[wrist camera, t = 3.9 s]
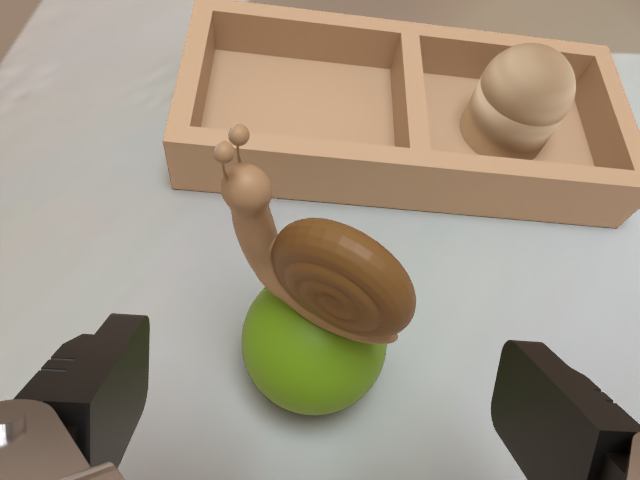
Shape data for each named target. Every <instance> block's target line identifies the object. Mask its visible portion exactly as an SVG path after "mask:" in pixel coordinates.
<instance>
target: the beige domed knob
mask: <svg viewBox="0 0 640 480" xmlns="http://www.w3.org/2000/svg"><path fill="white" fill-rule="evenodd" d="M575 93H576V79H575V74H574V71H573V69H572V66H571V65H570V63H569V61H568V60H567V59H566V57H565V56H564V55H563V54H561V53H560V52H559V51H557V50H556V49H554V48H552V47H550V46H547V45H544V44H540V43H522V44H518V45H515V46H512V47H510V48H507V49H506V50H504V51H502V52H501V53H499V54H498V55H497V56H496V57H495V58H493V59H492V60H491V62H490V63H489V64H488V65H487V67H486V68H485V70H484V72H483V73H482V75H481V77H480V79H479V81H478V84H477V86H476V88H475V90H474V92H473V94H472V96H471V98H470V100H469V102H468V104H467V106H466V108H465V110H464V112H463V114H462V116H461V119H460V130H461V133H462V136H463V138H464V140H465V141H466V143H467V144H468V145H469V146H470V147H471V149H473V150H474V151H475V152H476V153H477V154H479V155H484V156H494V157H504V158H514V159H524V160H533V159H534V158H535V157H536V156H537V155H538V153H539V152H540V151H541V149H542V148H543V147H544V145H545V144H546V142H547V141H548V140H549V138H550V137H551V136H552V134H553V133H554V132H555V130H556V129H557V127H558V126H559V125H560V123H561V122H562V121H563V119H564V118H565V116H566V115H567V113H568V112H569V110H570V108H571V106H572V104H573V101H574V98H575Z"/></svg>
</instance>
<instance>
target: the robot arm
mask: <svg viewBox="0 0 640 480" xmlns="http://www.w3.org/2000/svg"><path fill="white" fill-rule="evenodd" d="M149 333H150V325H149V318H148V316H145V315H130V314H115V313H112V314H111V315H110V316H109V317H108V318H107V319H106V321H105V322H104V323H103V324H102V326H101V327H100V328H99V329H98V331H97V332H96V333H95V334H94V335H92V334H82V335H80V336H78V337H76V338H74V339H72V340H70V341H68V342H66V343H64V344H62V346H61V347H60V348H59V349H58V350H57V351H56V352H55V353H54V354H53V356H52V357H51V360H48V361H47V362H46V363H45V364H44V366H43V367H42V368H41V371H38V372H37V373H36V374H35V376H34V377H33V378H32V379H31V380H30V381H29V382H28V383H27V384H26V386H25V387H24V388H23V389H22V390H21V391H20V392H19V393H18V394H17V396H16V397H15V398H14V399H13V400H5V401H0V480H125V479H124V478H123V476H122V475H121V473H120V472H119V470H118V466H119V464H120V462H121V460H122V457H123V455H124V453H125V451H126V448H127V446H128V444H129V442H130V439H131V437H132V435H133V433H134V430H135V428H136V426H137V424H138V421H139V419H140V417H141V415H142V412H143V410H144V406H145V402H146V397H147V391H148V373H149ZM491 416H492V422H493V425H494V428H495V430H496V432H497V433H498V435H499V436H500V438H501V439H502V441H503V443H504V444H505V446H506V447H507V449H508V450H509V452H510V453H511V455H512V456H513V458H514V459H515V461H516V462H517V464H518V466H519V467H520V469H521V470H522V472H523V473H524V475H525V476H526V478H527V479H528V480H640V425H639V424H638V423H637V422H636V421H635V420H634V419H633V418H632V417H631V416H630V415H628V414H627V413H626V412H625V411H624V410H623V409H622V408H621V407H620V406H618V405H617V404H616V403H613V400H612V399H611V398H610V397H608V396H607V395H606V394H605V393H604V392H601V389H600V388H598V387H597V386H596V385H595V384H594V383H593V382H592V381H591V380H590V379H589V378H587V377H586V376H585V375H583V374H581V373H579V372H577V371H576V370H574V369H572V368H570V367H569V366H568V365H567V364H565V363H564V362H563V361H562V360H561V359H560V358H559V357H558V356H557V355H556V354H555V353H554V352H552V351H551V350H550V349H549V348H548V347H547V346H546V345H545V344H544V343H542V342H531V341H516V340H509V341H507V342H506V343H505V344H504V346H503V349H502V352H501V357H500V362H499V367H498V372H497V377H496V382H495V387H494V392H493V397H492V402H491Z"/></svg>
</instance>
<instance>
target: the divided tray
mask: <svg viewBox="0 0 640 480" xmlns="http://www.w3.org/2000/svg"><path fill="white" fill-rule="evenodd" d="M522 43H540V44H544V45H547V46H550V47H552V48H554V49H556V50H557V51H559V52H560V53H561V54H563V55H564V56H565V57H566V59H567V60H568V61H569V63H570V65H571V66H572V69H573V71H574V74H575V79H576V93H575V98H574V101H573V104H572V106H571V108H570V110H569V112H568V113H567V115H566V116H565V118H564V119H563V121H562V122H561V123H560V125H559V126H558V127H557V129H556V130H555V132H554V133H553V134H552V136H551V137H550V138H549V140H548V141H547V142H546V144H545V145H544V147H543V148H542V149H541V151H540V152H539V153H538V155H537V156H536V157H535V158H534V159H533V160H524V159H514V158H504V157H494V156H484V155H479V154H477V153H476V152H475V151H474V150H473V149H471V147H470V146H469V145H468V144H467V143H466V141H465V140H464V138H463V136H462V133H461V130H460V119H461V116H462V114H463V112H464V110H465V108H466V106H467V104H468V102H469V100H470V98H471V96H472V94H473V92H474V90H475V88H476V86H477V84H478V81H479V79H480V77H481V75H482V73H483V72H484V70H485V68H486V67H487V65H488V64H489V63H490V62H491V60H492V59H493V58H495V57H496V56H497V55H498V54H499V53H501V52H502V51H504V50H506V49H507V48H510V47H512V46H515V45H518V44H522ZM236 124H242V125H244V126H246V127H247V129H248V130H249V134H250V137H249V140H248V142H247V143H246V144H244V145H242V146H239V152H240V158H241V161H242V162H243V163H248V164H252V165H254V166H257V167H258V168H260V169H261V170H262V171H263V172H264V173H265V174H266V175H267V177H268V178H269V180H270V183H271V186H272V197H271V198H282V199H294V200H305V201H316V202H327V203H339V204H350V205H361V206H372V207H384V208H395V209H406V210H417V211H428V212H440V213H451V214H462V215H473V216H485V217H496V218H507V219H518V220H529V221H541V222H552V223H563V224H574V225H586V226H597V227H608V228H617V227H619V226H620V225H621V224H622V223H623V222H624V221H625V220H627V219H628V218H629V217H630V216H631V215H632V214H633V213H635V212H636V211H637V210H638V209H639V208H640V132H639V129H638V127H637V124H636V121H635V118H634V116H633V113H632V110H631V108H630V105H629V102H628V99H627V97H626V94H625V91H624V89H623V86H622V83H621V81H620V78H619V75H618V72H617V70H616V67H615V64H614V62H613V59H612V56H611V54H610V51H609V48H608V46H603V45H595V44H587V43H579V42H570V41H561V40H554V39H546V38H537V37H529V36H521V35H512V34H503V33H496V32H488V31H479V30H471V29H463V28H454V27H447V26H438V25H430V24H422V23H414V22H405V21H396V20H389V19H381V18H372V17H364V16H355V15H347V14H339V13H331V12H323V11H314V10H306V9H298V8H290V7H282V6H273V5H265V4H256V3H249V2H240V1H232V0H195V2H194V7H193V11H192V16H191V20H190V24H189V29H188V33H187V37H186V42H185V46H184V50H183V55H182V59H181V64H180V68H179V72H178V77H177V81H176V85H175V90H174V94H173V99H172V103H171V107H170V112H169V116H168V120H167V125H166V129H165V133H164V138H163V145H164V150H165V155H166V160H167V165H168V170H169V175H170V180H171V185H172V189H181V190H193V191H204V192H215V193H221V177H222V175H223V171H222V163H219V162H217V161H216V160H215V159H214V157H213V150H214V148H215V146H216V145H217V144H218V143H219V142H221V141H227V142H229V143H230V144H232V143H231V142H230V141H229V139H228V134H229V131H230V129H231V128H232V127H233V126H234V125H236ZM232 146H233V147H234V150H235V156H234V158H233V160H232V161H230V162H229V163H225V170H226V169H227V168H229V167H230V166H232V165H235V164H237V163H238V159H237V151H236V145H233V144H232Z"/></svg>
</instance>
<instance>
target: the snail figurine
mask: <svg viewBox="0 0 640 480" xmlns="http://www.w3.org/2000/svg"><path fill="white" fill-rule="evenodd" d="M249 137H250V134H249V130H248V129H247V127H246V126H244V125H242V124H236V125H234V126H233V127H232V128H231V129H230V131H229V134H228V139H229V141H230V142H231V143H232V144H233V145H236V151H237V159H238V163H237V164H235V165H232V166H230V167H229V168H227V169H226V170H225V163H229V162H230V161H232V160H233V158H234V156H235V150H234V147H233V146H232V144H230V143H229V142H227V141H221V142H219V143H218V144H217V145H216V146H215V148H214V150H213V157H214V159H215V160H216V161H217V162H219V163H222V171H223V175H222V177H221V194H222V197H223V199H224V200H225V202H226V203H227V205H228V206H229V207H230V209H231V213H232V221H233V225H234V229H235V233H236V236H237V239H238V241H239V244H240V246H241V249H242V251H243V253H244V255H245V257H246V259H247V261H248V263H249V264H250V266H251V268H252V269H253V271H254V272H255V274H256V275H257V277H258V278H259V280H260V281H261V282H262V284H263V285H264V286H265V288H264V289H263V290H262V291H261V292H260V294H259V295H258V296H257V297H256V299H255V300H254V302H253V303H252V305H251V307H250V309H249V311H248V313H247V316H246V319H245V322H244V326H243V332H242V352H243V358H244V362H245V365H246V368H247V370H248V373H249V375H250V377H251V379H252V380H253V382H254V383H255V385H256V386H257V388H258V389H259V390H260V391H261V392H262V393H263V394H264V395H265V396H266V397H267V398H268V399H269V400H271V401H272V402H273V403H275V404H276V405H278V406H280V407H282V408H284V409H286V410H288V411H291V412H294V413H298V414H303V415H325V414H330V413H334V412H337V411H340V410H342V409H345V408H347V407H349V406H350V405H352V404H354V403H355V402H356V401H358V400H359V399H360V398H361V397H363V396H364V395H365V394H366V393H367V391H368V390H369V389H370V388H371V387H372V385H373V384H374V382H375V381H376V379H377V377H378V376H379V373H380V371H381V369H382V366H383V363H384V359H385V355H386V346H387V344H388V343H392V342H395V341H396V340H397V338H398V335H397V333H399V332H400V331H402V330H403V329H404V328H405V327H406V326H407V325H408V324H409V323H410V321H411V319H412V318H413V316H414V313H415V307H416V296H415V291H414V287H413V284H412V282H411V280H410V277H409V275H408V274H407V272H406V271H405V269H404V268H403V266H402V265H401V264H400V262H399V261H398V260H397V259H396V258H395V257H394V256H393V255H392V254H391V253H390V252H389V251H388V250H387V249H386V248H384V247H383V246H382V245H381V244H380V243H378V242H377V241H375V240H374V239H372V238H371V237H369V236H368V235H366V234H364V233H363V232H361V231H359V230H357V229H355V228H353V227H350V226H348V225H345V224H342V223H340V222H337V221H332V220H328V219H322V218H307V219H302V220H298V221H295V222H293V223H291V224H289V225H287V226H286V227H285V228H284V229H283V230H282V231H281V232H280V233H279V234H278V235H277V231H276V227H275V224H274V220H273V217H272V214H271V211H270V208H269V205H268V204H269V203H270V200H271V197H272V186H271V183H270V180H269V178H268V177H267V175H266V174H265V173H264V172H263V171H262V170H261V169H260V168H258V167H257V166H254V165H252V164H248V163H243V162H242V161H241V158H240V152H239V146H242V145H244V144H246V143H247V142H248V140H249Z"/></svg>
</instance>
